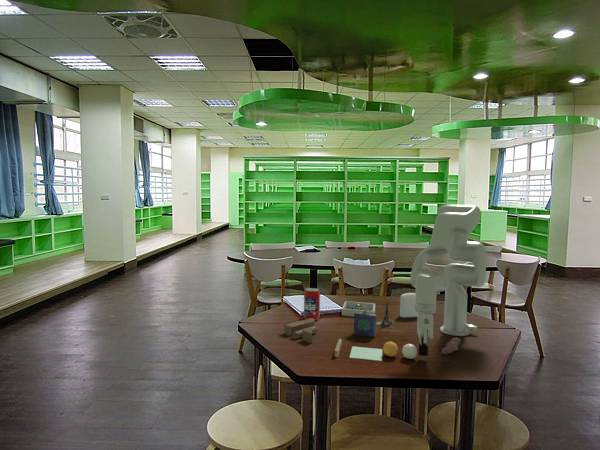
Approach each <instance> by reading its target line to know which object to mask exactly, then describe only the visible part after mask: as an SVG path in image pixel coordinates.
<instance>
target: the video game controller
mask: <svg viewBox="0 0 600 450" xmlns="http://www.w3.org/2000/svg"><path fill="white" fill-rule="evenodd" d="M461 341H462V340H461V339H460V338H459V337H453V338H451V340H450V341H448V342H447V343H446V344H445V347H443V348H442V349H441V354H443V355H449V354H453V353H454V352H455V351H457V350H458V349H459V347H458V346H459V345H460V344H461Z"/></svg>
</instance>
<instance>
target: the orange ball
mask: <svg viewBox="0 0 600 450" xmlns="http://www.w3.org/2000/svg"><path fill="white" fill-rule="evenodd" d="M382 347H383V348H382V352H383V353H384V354H385V355H386V356H387V357H394V356H396V355H397V353H398V351H399V348H398V345H397V344H396V342H393V341H387V342H385V343H384V344H383V346H382Z"/></svg>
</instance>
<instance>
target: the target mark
mask: <svg viewBox="0 0 600 450" xmlns="http://www.w3.org/2000/svg"><path fill="white" fill-rule="evenodd" d="M349 358H350V359H358V360H369V361H375V362H377V361H378V362H383V348H373V347H362V346H354V345H353V346H351V350H350V354H349Z"/></svg>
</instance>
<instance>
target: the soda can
mask: <svg viewBox="0 0 600 450" xmlns="http://www.w3.org/2000/svg"><path fill="white" fill-rule="evenodd" d="M320 305H321V292H320V290H319V288H314V287H308V288H305V291H304V292H303V318H304V320H306V319H309V318H313V319H314V322H315V321H318V320H319V319H320V315H321V314H320V310H321V309H320V308H321V306H320Z"/></svg>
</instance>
